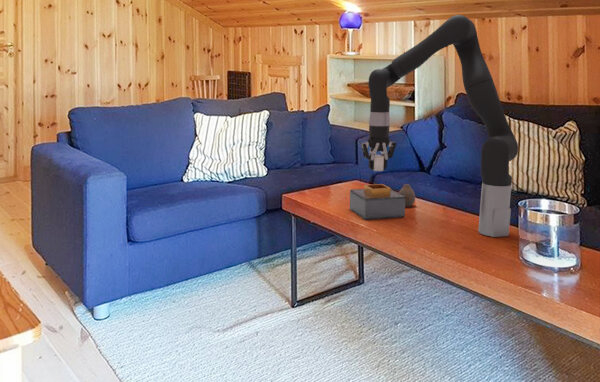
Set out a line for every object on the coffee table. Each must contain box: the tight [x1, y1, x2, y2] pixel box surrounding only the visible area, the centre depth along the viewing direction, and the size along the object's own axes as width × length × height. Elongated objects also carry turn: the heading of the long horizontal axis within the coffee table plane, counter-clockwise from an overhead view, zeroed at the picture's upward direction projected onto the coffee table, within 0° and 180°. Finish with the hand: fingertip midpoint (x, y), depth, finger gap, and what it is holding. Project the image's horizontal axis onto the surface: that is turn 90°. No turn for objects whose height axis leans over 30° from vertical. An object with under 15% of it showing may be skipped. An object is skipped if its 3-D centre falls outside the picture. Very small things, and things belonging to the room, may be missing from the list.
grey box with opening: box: [349, 183, 406, 221], centre depth 207 cm, size 20×16×10 cm
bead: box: [372, 154, 385, 172], centre depth 202 cm, size 4×4×6 cm
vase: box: [398, 183, 416, 208], centre depth 216 cm, size 7×7×9 cm
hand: (377, 169), depth 203 cm, fingers closed on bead, 4 cm apart
